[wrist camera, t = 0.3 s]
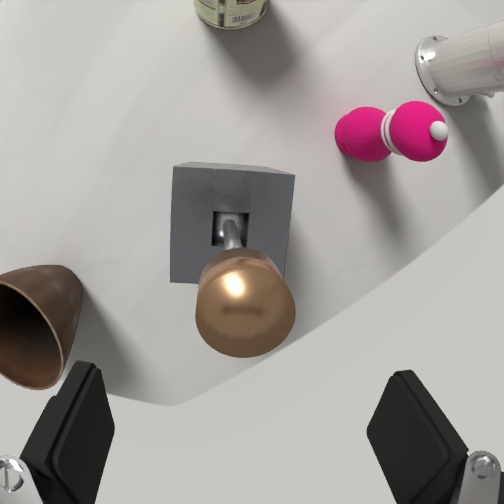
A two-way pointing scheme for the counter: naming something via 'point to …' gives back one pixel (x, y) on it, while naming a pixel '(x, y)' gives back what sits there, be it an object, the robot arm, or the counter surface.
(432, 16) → the counter surface
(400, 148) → the pepper mill
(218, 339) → the plunger
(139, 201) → the counter surface
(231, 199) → the press
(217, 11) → the coffee can
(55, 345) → the plant pot
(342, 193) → the counter surface
